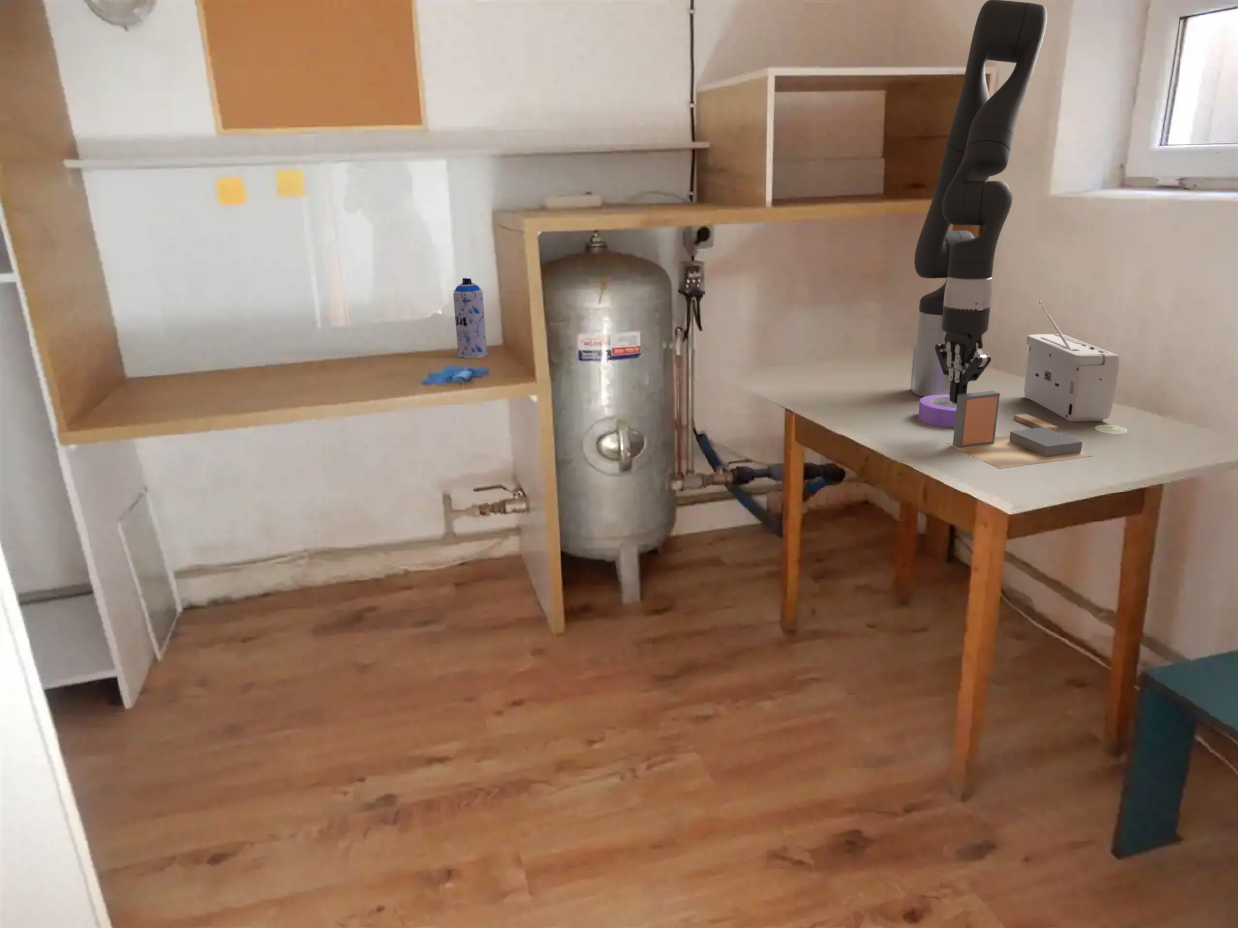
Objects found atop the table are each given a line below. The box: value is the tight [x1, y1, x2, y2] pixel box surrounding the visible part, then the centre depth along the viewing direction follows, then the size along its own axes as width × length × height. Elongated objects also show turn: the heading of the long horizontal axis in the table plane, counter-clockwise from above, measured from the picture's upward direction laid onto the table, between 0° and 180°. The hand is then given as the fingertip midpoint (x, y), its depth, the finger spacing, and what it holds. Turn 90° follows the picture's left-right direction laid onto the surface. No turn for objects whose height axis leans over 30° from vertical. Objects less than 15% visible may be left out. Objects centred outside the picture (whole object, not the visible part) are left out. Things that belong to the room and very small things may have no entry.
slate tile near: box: [952, 390, 1001, 448], centre depth 156 cm, size 2×7×9 cm, turn 106°
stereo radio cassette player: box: [1023, 300, 1120, 422], centre depth 175 cm, size 21×8×20 cm, turn 3°
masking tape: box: [917, 395, 957, 428], centre depth 173 cm, size 12×12×4 cm
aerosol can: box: [452, 277, 489, 359], centre depth 236 cm, size 8×8×20 cm
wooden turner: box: [1013, 413, 1058, 432], centre depth 165 cm, size 14×4×2 cm, turn 13°
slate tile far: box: [1009, 427, 1083, 457], centre depth 155 cm, size 2×7×9 cm
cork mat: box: [946, 435, 1092, 470], centre depth 155 cm, size 14×18×1 cm
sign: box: [1094, 424, 1128, 435], centre depth 160 cm, size 5×1×15 cm
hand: (957, 402), depth 161 cm, fingers closed
